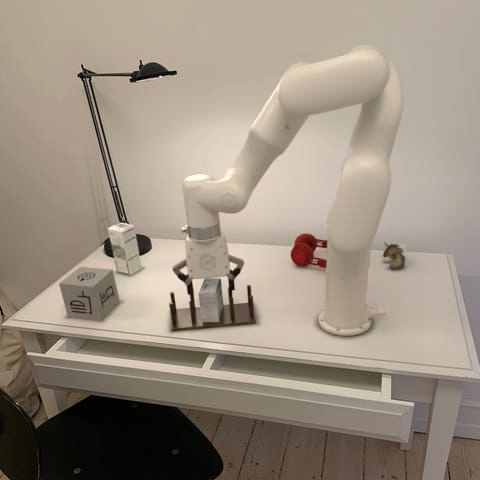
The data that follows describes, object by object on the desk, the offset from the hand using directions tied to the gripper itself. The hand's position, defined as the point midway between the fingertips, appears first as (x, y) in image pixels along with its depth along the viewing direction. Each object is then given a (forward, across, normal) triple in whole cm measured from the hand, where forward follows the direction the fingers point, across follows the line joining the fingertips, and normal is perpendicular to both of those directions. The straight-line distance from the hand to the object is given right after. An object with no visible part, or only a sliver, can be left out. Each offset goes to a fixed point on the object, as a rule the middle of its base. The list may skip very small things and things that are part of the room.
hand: (211, 294), depth 128 cm
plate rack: (+7, 0, 0) cm, 7 cm away
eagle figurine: (+7, +54, +22) cm, 59 cm away
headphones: (+7, +35, +27) cm, 45 cm away
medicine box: (+6, 0, 0) cm, 6 cm away
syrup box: (+7, -25, +33) cm, 42 cm away
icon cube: (+7, -32, +10) cm, 34 cm away
